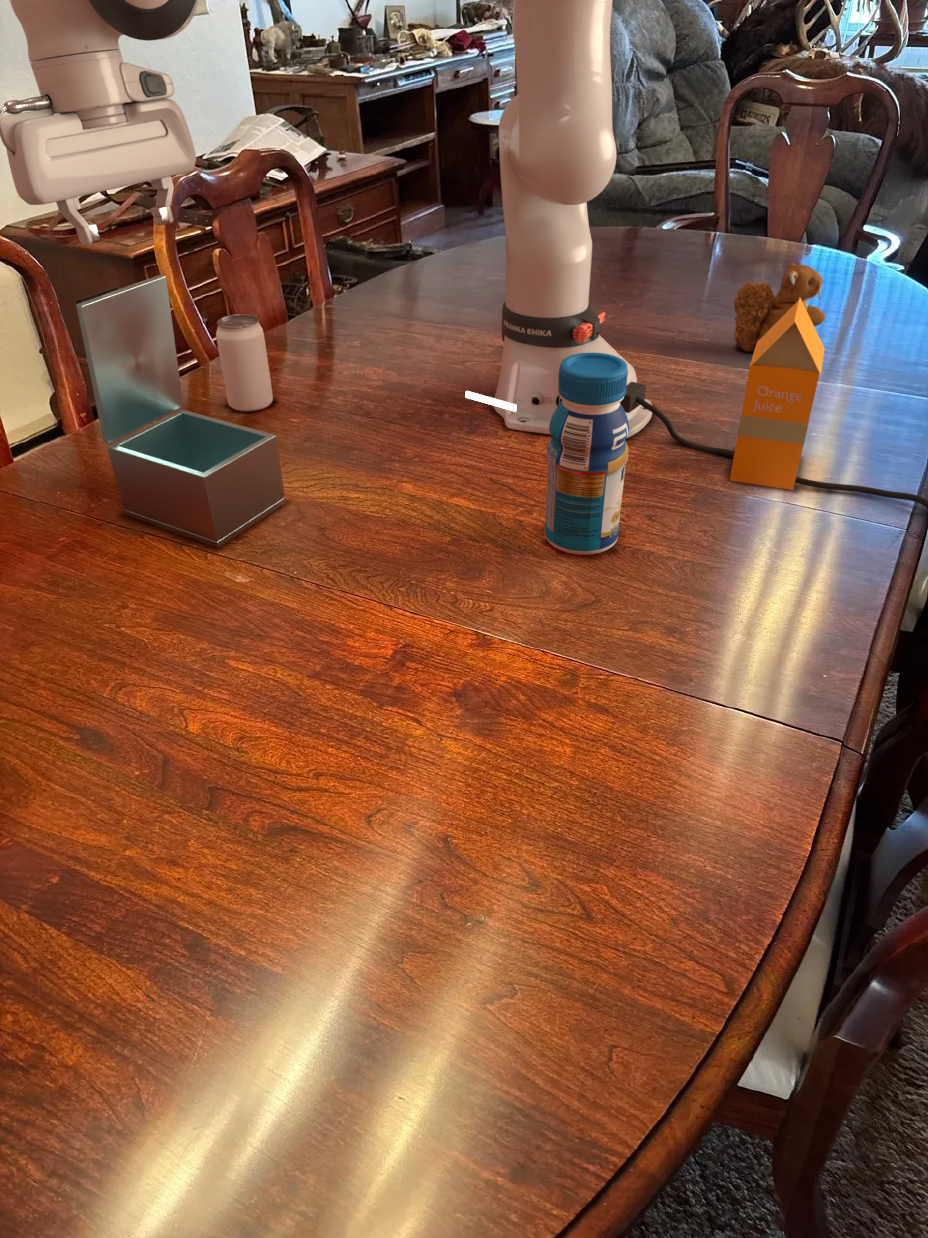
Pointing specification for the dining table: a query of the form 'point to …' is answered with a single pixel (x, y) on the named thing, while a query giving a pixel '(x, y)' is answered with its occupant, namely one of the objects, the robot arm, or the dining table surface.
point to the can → (244, 362)
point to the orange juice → (778, 402)
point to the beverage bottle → (587, 454)
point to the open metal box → (198, 476)
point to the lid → (131, 355)
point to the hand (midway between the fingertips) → (128, 233)
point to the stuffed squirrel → (774, 304)
